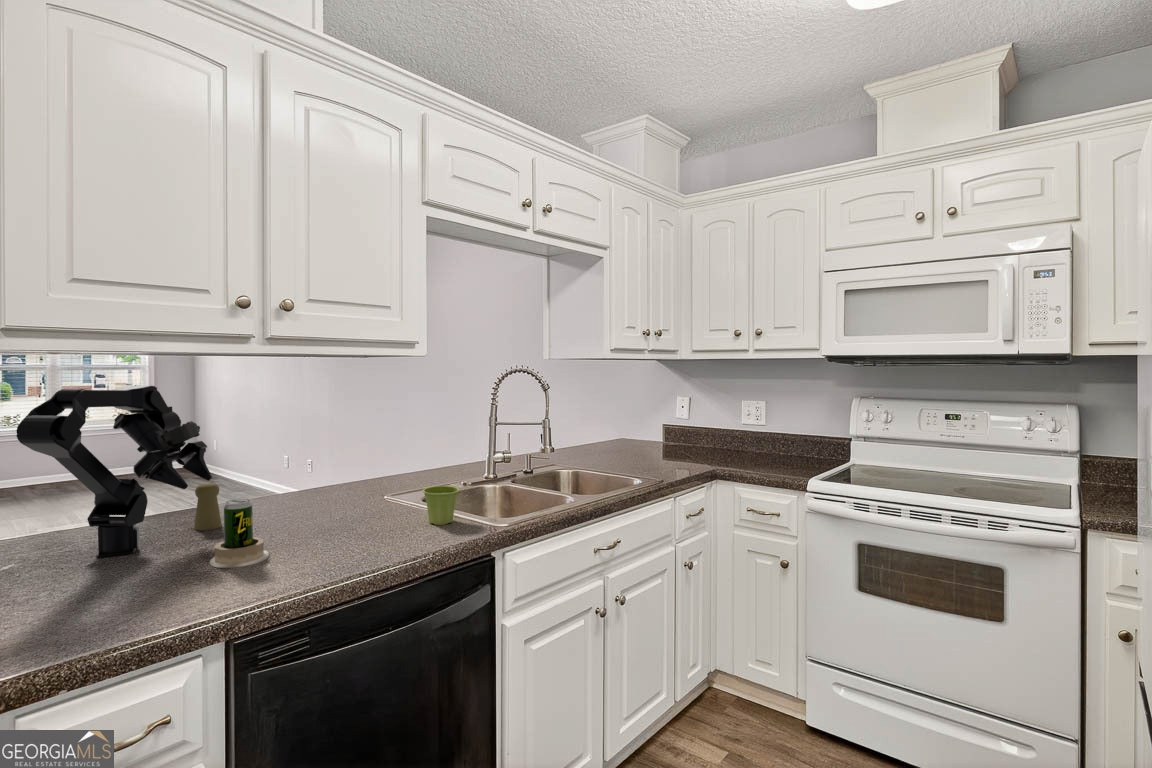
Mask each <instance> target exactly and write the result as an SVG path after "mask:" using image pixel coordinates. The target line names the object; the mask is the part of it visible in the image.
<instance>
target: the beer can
mask: <svg viewBox="0 0 1152 768" xmlns="http://www.w3.org/2000/svg"><path fill="white" fill-rule="evenodd" d="M253 516H254V514H253V503H252V499H250V498H236V499H230V500H227V501H225V502H224V505H223V539H224V540H223V541H224V548H227V549H235V548H243V547H248V546H252V545H253V537H254V529H253V526H254V524H253V523H254V522H253V521H254V519H253Z"/></svg>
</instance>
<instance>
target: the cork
mask: <svg viewBox="0 0 1152 768" xmlns="http://www.w3.org/2000/svg"><path fill="white" fill-rule="evenodd" d="M194 494H195V496H196V497H197V502H196V503H197V504H196V510H195V511H196V512H195V519H194V526H193V530H195V531H210V530H211V531H212V530H216V529H219V528H222V526H223V524H222V518H221V513H220V507H219V501H218V497H217V496H218V495H219V494H220V486H219V485H218V484H217V483H213V482H212V483H211V482H210V483H202V484H199V485H197V486H196V488H195V491H194Z"/></svg>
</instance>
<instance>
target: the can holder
mask: <svg viewBox="0 0 1152 768" xmlns="http://www.w3.org/2000/svg"><path fill="white" fill-rule="evenodd" d="M264 548H265V547H264V538H261V537H257V536H253V545H252V546H248V547H243V548H235V549H227V548H224V540H223V541H220V542H218V543H216V544H215V545H214V556H213V557H212V558H211V559H210V560H209V565H210V566H211V567H212V568H213V567H214V568H217V569H237V568H241V567H248V566H252V565H255V564H259V563H261V562H263V561H265V560H267V559H269V558H270V557H269V556H270V554H269V553H270V552H269V551H267V550H265V549H264Z"/></svg>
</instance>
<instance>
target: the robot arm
mask: <svg viewBox="0 0 1152 768" xmlns="http://www.w3.org/2000/svg"><path fill="white" fill-rule="evenodd" d="M111 407H112V408H115V409H118V410H124V411H128V413H129V414H128V413H127V414H126V413H122V412H120V413H119V414H118V415H117V416H116V417H115V418H114V424H113V427H112V429H114V430H119V429H121V430H122V431H123V432H124V433H126V435H128V437H130V438H131V439H132V440H133V441H134V442H135V443H136V444H137V445H138V448H137V449H136V450H137V451H138V452H139V453H143V452H145V454H144V455H143V456H142V457H141V458H140V459H139V460H138V461H137V462H136V463H135V464H134V465H133V473H134V474H135V475H136V476H137V477H138V478H139V479H141V478H145V480H152V481H156V482H159V483H163V484H166V485H170V486H172V487H176V488H179V489H182V490H186V489H187V488H188V487H189V485H188V483H187V482H186V481H185V479H184V478H183V477H182V476H181V474H180V473H179V472H178V470H176V469H175V468H174V465H173V462H177V463H178V464H179V465H182V469H184V470H186V471H188V472H190V473H192V474H194V475H196V476H198V477H199V478H201V479H203V480H205V481H208V482H209V481H211V480H212V479H213V476H212V475H211V472H210V470H209V468H208V466H207V463H206V462H205V461H206V460H205V458H204V457H205V453H206V452H207V448H208V445H207V444H206V443H205V442H204V441H203V440H195V441H191V442H188V443H186V441H188V440H190V439H192V438H197V437H199V436H200V431H201V430H200V429H201V426H200V425H198V424H197V423H196V422H193V421H187V422H186V423H183V424H182V420H181V419H180V416H179V415H178V413H177V412H174V411H173V406H168V405H167V403H166V401H165V399H164V397H163V396H162V395H161V393H160V391H158V387H156V386H155V385H130V384H129V385H123V386H122V385H121V386H118V387H117V386H116V388H114V389H84V388H62V389H59V390H57V391H56V392H55V393H54V394H53V395H52V396H51V398H49V399H47V400H46V401H44V402H43V403H41V404H39V405H38V406H36V407H34V408H32V409H31V410H30V412H28V414H27V415H25V417H24V418H23V419H22V420H21V421H20V423H19V424H18V425H17V426H16V432H15V433H16V438H17V441H19V443H20V444H21V445H23V446H24V447H27V448H28V449H30V450H32V451H34V452H37V453H40V454H43V455H46V456H49V457H52V458H54V459H55V460H56V461H57V462H58V463H59V464H60V465H61V466H63V467H64V468H65V470H67V471H68V472H69V473H70V474H71V475H72V476H74V477H75V478H76V479H78V481H80V482H81V483H82V485H84V486H85V487H86V488H88V489H89V490H90V491H91V493H92V494H93V495H94V501H93V504H94V505H95V506H94V507H93V509H92V510H91V512H90V513H89V514H88V517H87V522H88V524H89V525H88V526H89V527H91V528H92V527H97V544H98V545H97V547H98V549H97V550H98V551H97V553H96V554H95V555H96V556H95V557H96V558H102V557H103V558H104V557H111V556H112V557H113V556H121V555H130V554H134V553H135V551H136V549H138V548H139V546H140V527H138V526H137V524H140V523H142V522H144V521H145V516H146V511H147V507H148V502H149V501H148V495H147V494H146V492H145V491H144V490H145V487H143V486H141V485H140V483H139V482H138V480H136V479H135V478H118V477H116V475H115V474H113V472H112V471H110V469H108V467H106V465H104V463H102V462H101V461H100V460H99V459H98V458H97V457H96V456H95V454H93V453H92V452H91V451H90V450H89V449H88V448H87V447H86V446H85V445H84V444H83V443H82V435H83V434H82V431H81V428H83V427H84V425H85V423H86V421H87V420H86V419H87V418H86V416H87V415H86V414H87V410H88V409H89V408H111ZM69 409H70V410H72V411H70V413H69V414H68V415H60V414H61V413H63V412H64V411H65V410H69Z"/></svg>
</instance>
